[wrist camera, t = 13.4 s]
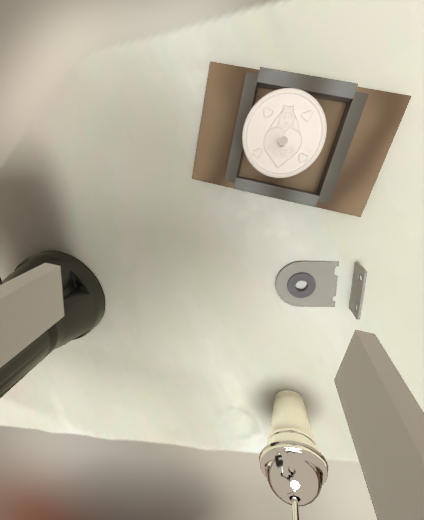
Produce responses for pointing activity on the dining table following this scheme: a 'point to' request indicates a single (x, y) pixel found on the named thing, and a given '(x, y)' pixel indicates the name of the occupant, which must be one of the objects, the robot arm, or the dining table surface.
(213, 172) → the keeper board
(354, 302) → the grey arched plates
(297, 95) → the smoothie
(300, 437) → the domed lid cup
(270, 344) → the dining table surface
